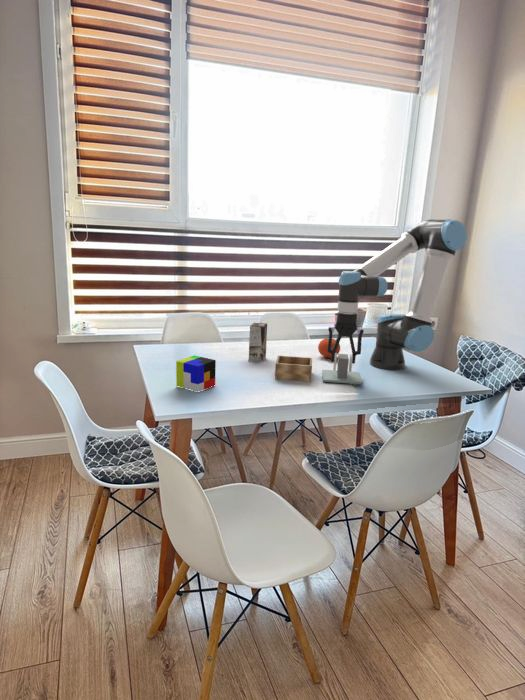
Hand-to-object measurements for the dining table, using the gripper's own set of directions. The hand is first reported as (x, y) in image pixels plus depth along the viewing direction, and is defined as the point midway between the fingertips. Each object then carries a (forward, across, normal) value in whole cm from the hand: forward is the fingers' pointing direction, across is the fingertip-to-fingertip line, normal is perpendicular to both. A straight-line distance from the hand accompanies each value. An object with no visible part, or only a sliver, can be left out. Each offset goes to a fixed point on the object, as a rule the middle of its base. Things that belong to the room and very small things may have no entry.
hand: (342, 370), depth 184 cm
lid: (+5, 0, 0) cm, 5 cm away
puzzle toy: (+5, +54, +19) cm, 57 cm away
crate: (+4, +19, 0) cm, 19 cm away
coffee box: (+5, +36, -22) cm, 42 cm away
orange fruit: (+5, +4, -34) cm, 35 cm away
